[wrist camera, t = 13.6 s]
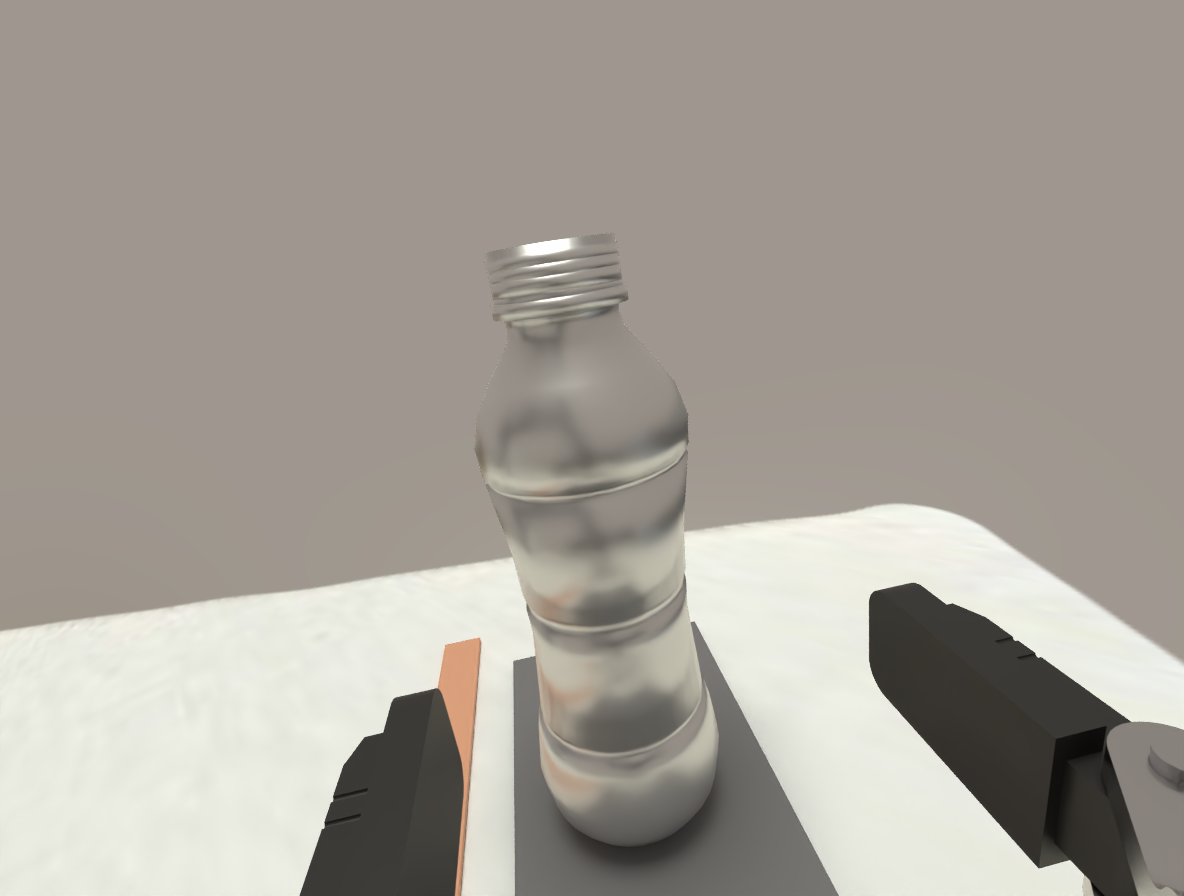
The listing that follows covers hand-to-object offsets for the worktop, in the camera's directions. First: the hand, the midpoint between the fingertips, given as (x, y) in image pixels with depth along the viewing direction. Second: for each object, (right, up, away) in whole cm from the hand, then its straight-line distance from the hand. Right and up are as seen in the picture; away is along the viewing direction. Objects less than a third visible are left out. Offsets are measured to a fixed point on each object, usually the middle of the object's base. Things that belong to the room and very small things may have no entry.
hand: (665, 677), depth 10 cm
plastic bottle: (0, -9, +12) cm, 15 cm away
